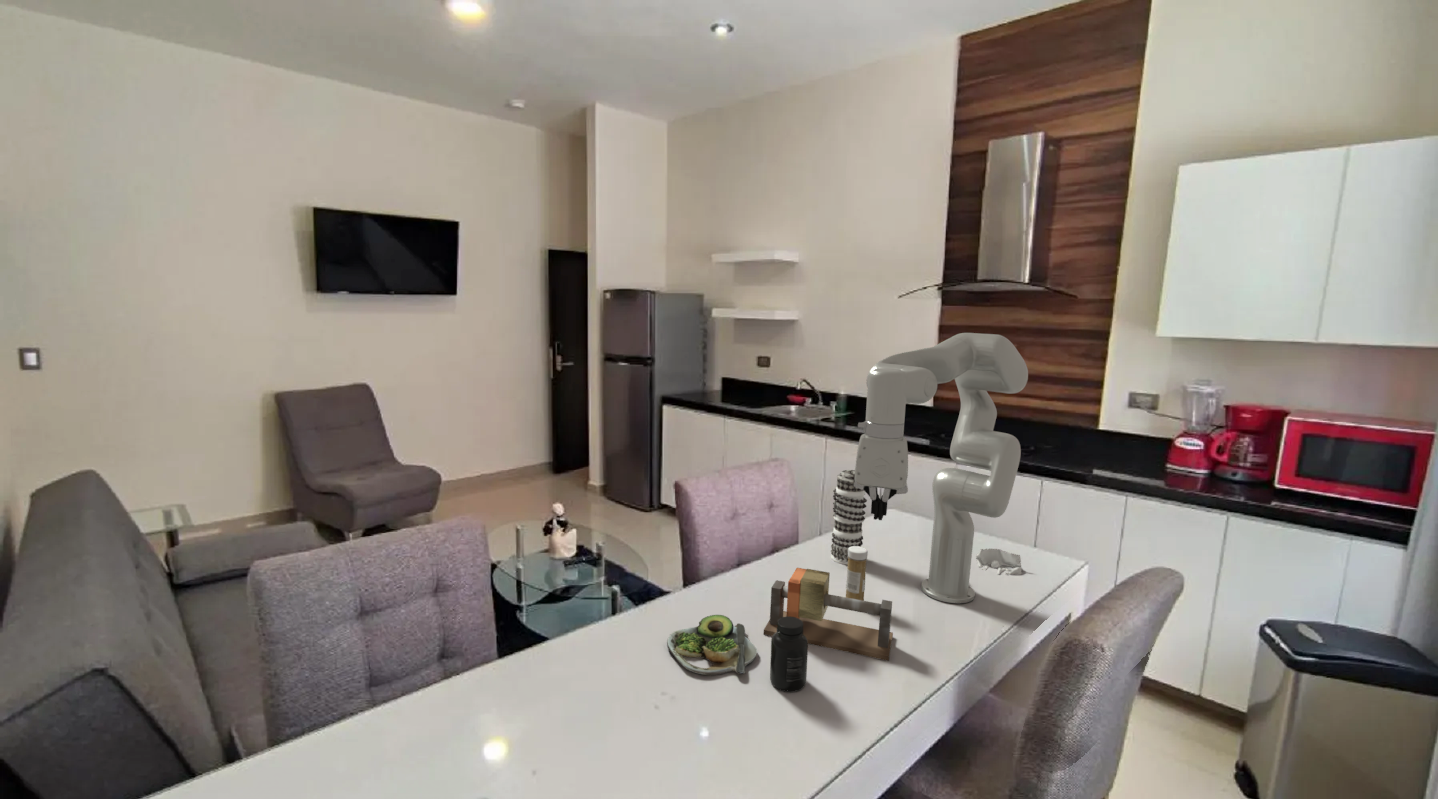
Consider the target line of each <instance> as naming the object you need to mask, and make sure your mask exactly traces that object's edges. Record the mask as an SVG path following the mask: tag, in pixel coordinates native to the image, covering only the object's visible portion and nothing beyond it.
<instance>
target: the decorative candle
mask: <svg viewBox="0 0 1438 799" xmlns="http://www.w3.org/2000/svg"><path fill="white" fill-rule="evenodd" d="M836 479H837V481H836V486H835V488H834V490H833V496H832V498H833V500H834V502H832V505H833V507H832V510H833V513H834V514H833V515H832V516H833V519H834V526H833V532H832V534H831V535H832V538H831V545H830V548H831V550H830V559H831V560H832V561H833V562H836V563H837V564H841V565H846V566H848V548H849V547H851V546H860V547H862V545H863V544H864V542H863V540H864V536H863V523H864V521H865V520H866V518H865V516H864V515H866V512H865V510H864V509H865V508H867V505H866V504H865V503H867V501H868V499H867V498H866V497H864V496H865V495H866V492H865V491H864V490H861V489H859V488H856V487H854V482H855V469H854V470H853V469H846V470H842V471H841V472H840V473H839V474H837V475H836Z"/></svg>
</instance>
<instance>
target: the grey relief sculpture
mask: <svg viewBox="0 0 1438 799" xmlns="http://www.w3.org/2000/svg"><path fill="white" fill-rule="evenodd" d="M975 559H976V564H977V567H978V568H980V569H981V568H982V569H981V570H983V571H987V570H988V569H989V568H992V569H997V572H996V573H997V575H1001V573H1002V572H1004V571H1006V572H1005V575H1008V576H1009V575H1010V576H1012V575H1022V568H1023V567H1022V558H1021V555H1020V554H1016V553H1012V552H1011V553H1010V552H1008V551H1005V550H1002V549H999V548H985V549H984V548H980V551H979V552H978V553H977V554H976V556H975ZM1001 566H1006V567H1001ZM984 567H985V568H984ZM1007 567H1010V568H1009V569H1008V568H1007Z"/></svg>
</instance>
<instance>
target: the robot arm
mask: <svg viewBox="0 0 1438 799" xmlns="http://www.w3.org/2000/svg"><path fill="white" fill-rule="evenodd" d="M953 380H954V381H955V385H956V387H957V390H958V395H959V399H960V410H959V412H958V413H959V415H958V418H957V421H956V425H955V428H954V431H953V436H952V440H951V443H950V448H949V455H950V458H951V460H953V461H954V462H956V463H957V464H961V465H964V466H968V467H972V468H975V469H982V470H986V471H989V472H990V475H988V474H983V473H979V472H975V471H970V470H966V469H961V468H955V467H954V468H953V467H946V468H943V469H942V468H941V469H940V470H938V472H937V473H936V474H935V475H934V477H933V479H932V488H931V489H932V498H933V524H932V526H933V527H932V535H931V546H930V560H929V570H928V578H926V579H924V580H922V582H921V591H922V592H923V593H925V595H926V596H929V597H930V598H932V599H935V600H938V601H939V602H944V603H951V604H965V603H970V602H972V601H973V600H975V595H976V594H975V593H976V592H975V590H974V588H972V586H970V578H971V577H970V576H971V568H972V566H971V565H972V558H973V548H974V547H973V546H974V539H975V538H974V537H975V524H974V521H973V518H972V516H971V514H970V513H972V514H975V515H979V516H983V517H987V518H994V519H996V518H1000V517H1001V516H1003V515H1004V514H1005V512H1006V511H1007V508H1008V505H1009V502H1010V500H1011V495H1012V491H1013V488H1014V484H1015V482H1016V476H1017V473H1018V470H1019V469H1018V468H1019V466H1020V461H1021V457H1022V456H1021V452H1022V449H1021V444H1020V441H1019V439H1018V438H1017V437H1016V436H1014V435H1013V434H1010V433H1006V432H1001V431H996V430H994V429H995V425H996V419H997V416H998V412H997V408H996V405H995V403H994V400H993V399H992V397H991V396H990V394H989V393H988V392H993V393H994V392H995V393H1003V394H1018V393H1019V392H1021V391H1022V390H1024V388H1025V387H1026V385H1027V383H1028V380H1029V369H1028V367H1027V363H1026V360H1024V358H1023V356H1022V355H1021V354H1020V352H1019V351H1018V349H1017V347H1015V345H1014V344H1013V342H1011V341H1010V340H1009V339H1008V338H1007V337H1005V336H1004V335H1001V334H997V333H996V334H993V333H979V332H978V333H976V332H975V333H974V332H962V333H960V332H959V333H957V334H955V335H953V336H951V337H949V338H947V339H945V340H944V341H942V342H939V343H937V344H935V345H934V346H931V347H925V348H920V349H916V350H911V351H906V352H905V351H904V352H901V353H897V354H896V353H895V354H892V355H889V356H887V357H885V358H883V359H882V360H879V361H878V362H876V363H875V364H874V365H873V366H872V367H871V368H870V370H869V371H868V373H867V376H866V382H865V383H866V387H867V389H866V390H867V392H866V393H867V394H866V406H865V407H866V408H865V409H866V410H865V420H864V421H863V422H858V424H857V429H858V430H861V431H863V433H862V434H861V435H860V437H859V440H858V445H857V452H856V458H855V459H856V460H855V466H854V467H855V468H854V470H855V482H854V487H856V488H859V489H861V490H864V491H865V494H867V496H868V497H869V498H870V499H869V500H871V506H870V507H871V509H870V514H872V515H873V520H878V521H883V518H884V516H887V514H888V513H887V512H888V501H889V500H890V499H891V498H892V497H895V496H896V495H904V494H907V493H908V491H909V487H908V482H907V481H908V476H909V474H908V473H909V450H908V441H907V437H904V432H905V417H906V407H907V406H906V405H907V404H916V405H919V404H920V405H921V404H925V403H927V402H929V401H931V400H932V398H933V397H935V394H936V393H937V390H938V385H939V384H940V385H941V384H946V383H950V382H952V381H953ZM878 488H879V489H883V492H882V494H881V496H880V494H879V491H878Z"/></svg>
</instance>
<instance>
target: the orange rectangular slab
mask: <svg viewBox="0 0 1438 799" xmlns="http://www.w3.org/2000/svg"><path fill="white" fill-rule="evenodd" d="M807 569H808V568H802V567H796V568H795V570H794V572H793V573H792V574H791V577H790V578H789V580H788V582H787V587H788V596H787V598H786V599H787V600H786V611H787V615H786V617H787V616H788V617H796V618H798V619H799V618H800V617H798V611H799V593H800V580H801V579H802V577H803V575H804V573H805V571H806V570H807Z"/></svg>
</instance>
